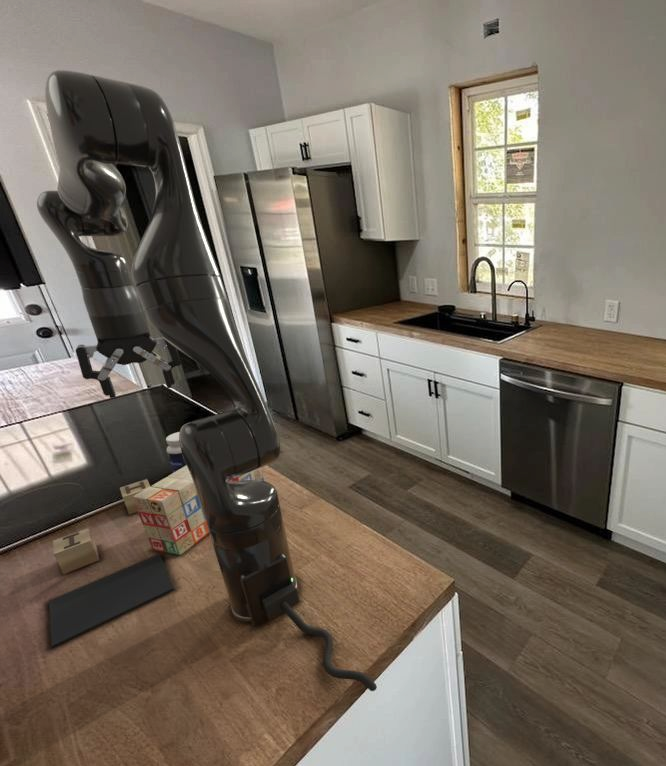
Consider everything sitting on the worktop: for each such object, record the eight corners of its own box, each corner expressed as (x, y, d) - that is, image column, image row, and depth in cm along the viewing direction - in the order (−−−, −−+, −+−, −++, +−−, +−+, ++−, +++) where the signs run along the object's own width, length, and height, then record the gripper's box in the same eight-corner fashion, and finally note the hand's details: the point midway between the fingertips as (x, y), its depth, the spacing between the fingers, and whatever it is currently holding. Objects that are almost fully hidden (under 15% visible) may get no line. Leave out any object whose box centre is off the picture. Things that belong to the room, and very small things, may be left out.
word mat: (174, 589, 69) (173, 588, 68) (52, 648, 59) (51, 646, 59) (160, 555, 75) (160, 553, 75) (49, 602, 66) (48, 600, 66)
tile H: (156, 505, 88) (150, 487, 87) (129, 514, 85) (122, 496, 84) (153, 496, 91) (146, 478, 89) (126, 505, 88) (119, 487, 86)
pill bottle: (168, 475, 99) (157, 438, 95) (193, 463, 104) (183, 428, 100) (184, 480, 97) (173, 443, 93) (209, 468, 102) (199, 433, 98)
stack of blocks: (243, 484, 96) (231, 438, 91) (266, 488, 95) (256, 441, 90) (151, 550, 76) (131, 495, 72) (179, 556, 75) (160, 501, 71)
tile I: (99, 560, 74) (90, 539, 72) (63, 574, 71) (53, 553, 69) (96, 547, 77) (88, 527, 75) (62, 560, 74) (52, 540, 72)
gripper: (58, 318, 69) (91, 406, 75) (166, 309, 77) (188, 389, 83) (63, 311, 74) (94, 394, 80) (164, 303, 83) (185, 378, 89)
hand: (142, 391), depth 82 cm, fingers open, 8 cm apart
